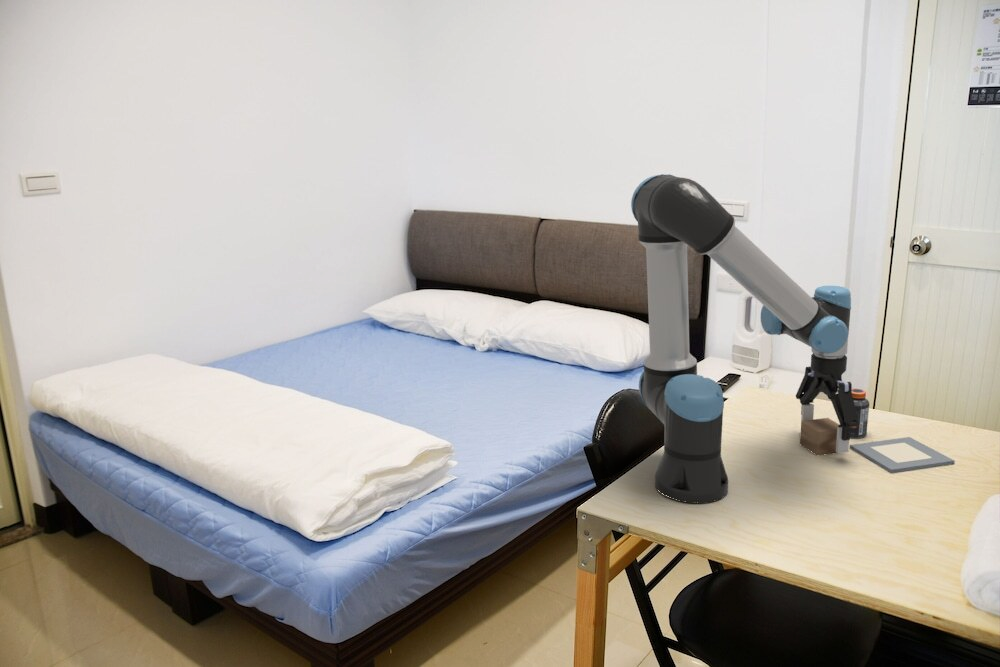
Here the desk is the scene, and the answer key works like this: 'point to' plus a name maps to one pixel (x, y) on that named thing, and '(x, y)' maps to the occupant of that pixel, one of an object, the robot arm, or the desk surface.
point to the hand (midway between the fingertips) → (823, 440)
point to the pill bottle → (860, 413)
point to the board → (901, 454)
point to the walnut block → (819, 435)
